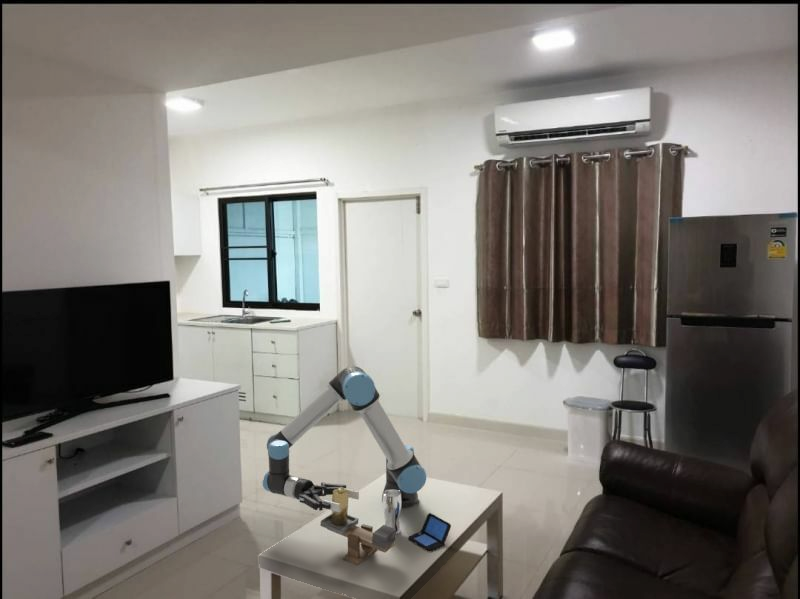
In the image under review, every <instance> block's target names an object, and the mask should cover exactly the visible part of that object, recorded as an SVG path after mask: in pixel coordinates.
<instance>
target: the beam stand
mask: <svg viewBox="0 0 800 599" xmlns="http://www.w3.org/2000/svg"><path fill="white" fill-rule="evenodd" d="M360 528H363V529H365V530H368V531H371V532H373V533H374V531H373V526H371V525H368V524H366V523H362V524H361V525H360ZM376 550H377V549H374V548H372V547H370V546H367V545H365V544H362V543H360V536H357V535H353V534H349V535H348V538H347V553H346V555H344V556H343V561H345V562H348V563H352V564H355V565H359V564H361V562H363V561H364V560H366V558H368V557H369V556H371V555H372V553H373V552H375V551H376Z"/></svg>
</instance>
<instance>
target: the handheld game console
mask: <svg viewBox="0 0 800 599" xmlns="http://www.w3.org/2000/svg"><path fill="white" fill-rule="evenodd" d="M451 528H452V524H451V523H449V522H448V521H446V520H444V519H442V518H440V517H439V516H437V515H435V514H433V513H431V512H429V513H428V514H427V516H426V517H425V520H424V523H423V525H422V528H421V529H420V531H419V532H416V533H413V534H410V535H408V537H407V538H408V540H409V541H410V542H412V543H413V544H415V545H416V546H418V547H419V548H421V547H422V548H421V549H423V550H425V551H426V550H427V552H428V551H432V552H433V550H434V551H436V550H438V549H437V548H439V549H440V547H441V548H443V547H442V546H444V545H445V542H446V541H447V538H448V535H449V533H450V530H451ZM444 547H445V546H444Z"/></svg>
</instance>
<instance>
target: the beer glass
mask: <svg viewBox="0 0 800 599" xmlns="http://www.w3.org/2000/svg"><path fill="white" fill-rule="evenodd" d="M383 491H384V490H383ZM382 494H383V502H382V509H383V516H384V525H386V526H389V527H391V528H394V529H396V535H398V534H400V533H401V527H400V526H401V525H400V520H401V519H400V518H401V513H402V508H401V492H400V491H399V490H395V489H389V490H386V491H384V493H383V492H382Z"/></svg>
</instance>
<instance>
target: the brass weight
mask: <svg viewBox="0 0 800 599" xmlns="http://www.w3.org/2000/svg"><path fill="white" fill-rule="evenodd" d="M346 489H347V488H346ZM346 489H344V488H342V487H340V488H338V489H335V490H334V491H333V495H332V496H331V497H332V498H331V499H332V501H331V502H335V503H339V504H340V512H336V511H333V510H331V514H332V518H331V522H332V524H334V525H338V526H341V525H345V524H346V523H347V515H349V514H348V512H349V497H348V495H349V492H348V490H346Z"/></svg>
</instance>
